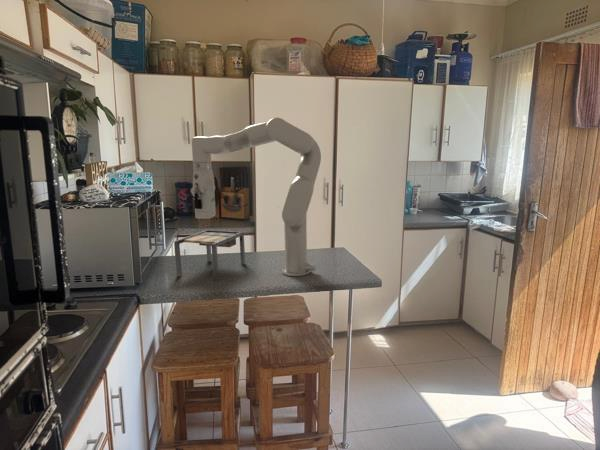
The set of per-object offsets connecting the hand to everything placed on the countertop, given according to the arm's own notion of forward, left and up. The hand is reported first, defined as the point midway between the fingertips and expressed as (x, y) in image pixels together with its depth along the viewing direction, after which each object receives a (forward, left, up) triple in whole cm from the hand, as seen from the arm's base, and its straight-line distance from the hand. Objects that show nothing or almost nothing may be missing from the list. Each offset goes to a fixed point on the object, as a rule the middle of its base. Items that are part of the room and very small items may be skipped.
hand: (204, 206), depth 169 cm
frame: (+1, -4, -30) cm, 30 cm away
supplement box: (0, 0, -5) cm, 5 cm away
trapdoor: (+1, -4, -19) cm, 20 cm away
